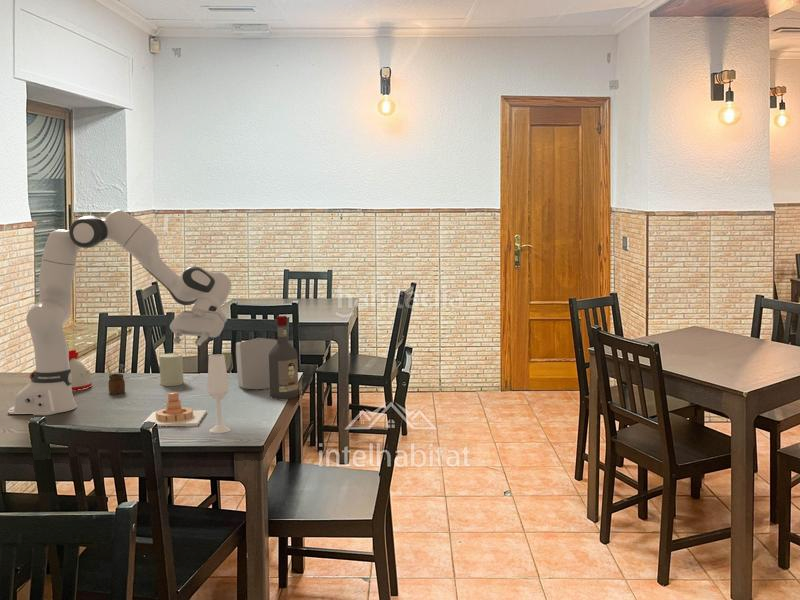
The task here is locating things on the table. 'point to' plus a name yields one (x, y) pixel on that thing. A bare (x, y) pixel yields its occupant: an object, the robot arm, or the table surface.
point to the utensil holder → (116, 382)
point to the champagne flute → (218, 386)
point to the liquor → (283, 365)
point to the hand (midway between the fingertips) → (186, 343)
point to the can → (171, 369)
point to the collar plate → (179, 423)
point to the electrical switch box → (254, 363)
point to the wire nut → (173, 404)
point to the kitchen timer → (78, 372)
